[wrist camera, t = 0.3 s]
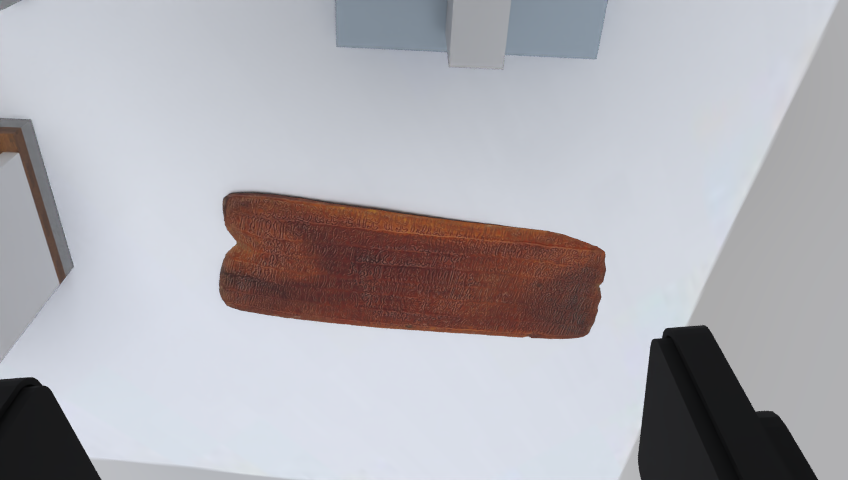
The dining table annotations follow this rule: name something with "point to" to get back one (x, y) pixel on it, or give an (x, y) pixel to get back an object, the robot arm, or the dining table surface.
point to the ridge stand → (474, 28)
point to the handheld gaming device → (7, 3)
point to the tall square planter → (26, 233)
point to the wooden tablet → (406, 270)
